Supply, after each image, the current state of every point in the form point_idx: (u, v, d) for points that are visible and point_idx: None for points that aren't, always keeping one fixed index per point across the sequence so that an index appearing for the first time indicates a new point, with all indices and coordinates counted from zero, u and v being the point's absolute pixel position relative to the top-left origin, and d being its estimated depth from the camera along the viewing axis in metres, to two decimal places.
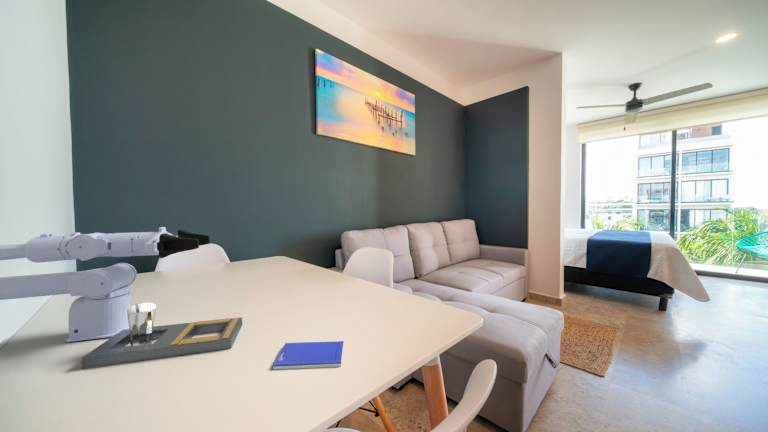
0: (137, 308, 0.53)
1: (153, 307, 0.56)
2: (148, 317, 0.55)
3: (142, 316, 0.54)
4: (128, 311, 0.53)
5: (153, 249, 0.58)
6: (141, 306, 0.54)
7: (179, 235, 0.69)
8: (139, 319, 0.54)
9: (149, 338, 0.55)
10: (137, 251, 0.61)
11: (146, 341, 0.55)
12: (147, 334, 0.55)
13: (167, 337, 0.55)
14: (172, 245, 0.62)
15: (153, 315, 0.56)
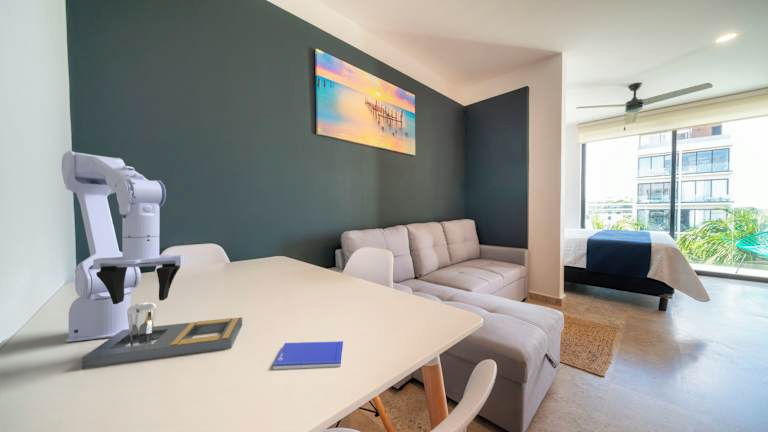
0: (137, 308, 0.53)
1: (153, 307, 0.56)
2: (148, 317, 0.55)
3: (142, 316, 0.54)
4: (128, 311, 0.53)
5: None
6: (141, 306, 0.55)
7: None
8: (139, 319, 0.54)
9: (149, 338, 0.55)
10: None
11: (146, 341, 0.55)
12: (147, 334, 0.55)
13: (167, 337, 0.55)
14: None
15: (153, 315, 0.56)
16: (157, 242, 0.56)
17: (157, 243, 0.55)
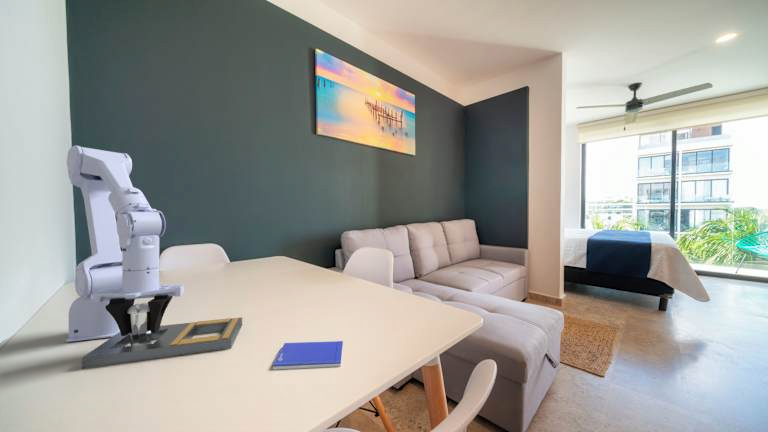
0: (137, 308, 0.53)
1: None
2: (148, 317, 0.55)
3: (142, 316, 0.54)
4: (128, 311, 0.53)
5: None
6: (141, 306, 0.55)
7: None
8: (139, 319, 0.54)
9: (149, 338, 0.55)
10: None
11: (146, 341, 0.55)
12: (147, 334, 0.55)
13: (167, 337, 0.55)
14: None
15: None
16: (157, 273, 0.56)
17: (156, 274, 0.55)
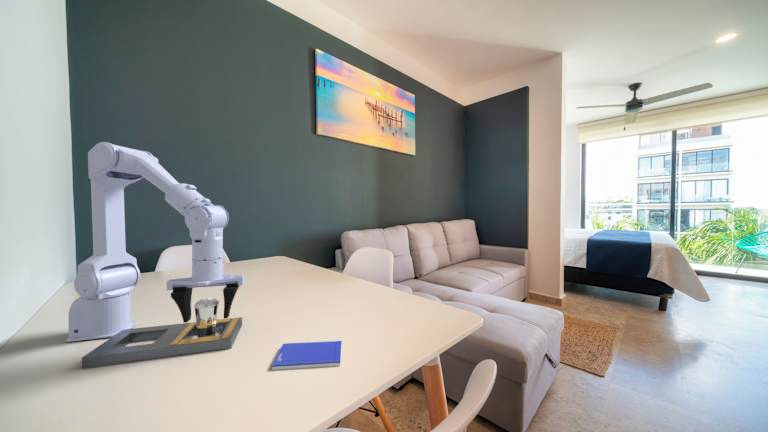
0: (206, 303, 0.57)
1: (217, 302, 0.59)
2: (214, 311, 0.58)
3: (209, 310, 0.57)
4: (196, 306, 0.57)
5: None
6: (207, 301, 0.58)
7: None
8: (207, 313, 0.57)
9: (214, 331, 0.59)
10: None
11: (212, 334, 0.58)
12: (212, 328, 0.58)
13: (167, 337, 0.55)
14: None
15: (217, 310, 0.59)
16: (222, 264, 0.60)
17: (221, 264, 0.59)
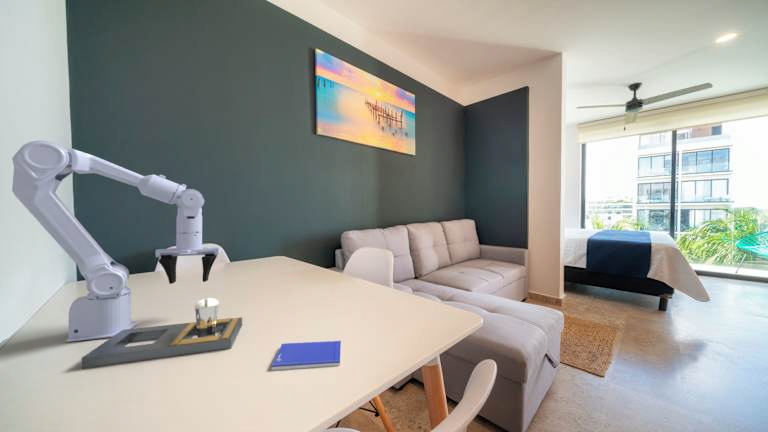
0: (206, 303, 0.57)
1: (217, 302, 0.59)
2: (214, 311, 0.58)
3: (209, 310, 0.57)
4: (196, 306, 0.57)
5: None
6: (207, 301, 0.58)
7: None
8: (207, 313, 0.57)
9: (214, 331, 0.59)
10: None
11: (212, 334, 0.58)
12: (212, 328, 0.58)
13: (167, 337, 0.55)
14: None
15: (217, 310, 0.59)
16: (201, 237, 0.73)
17: (201, 237, 0.72)
